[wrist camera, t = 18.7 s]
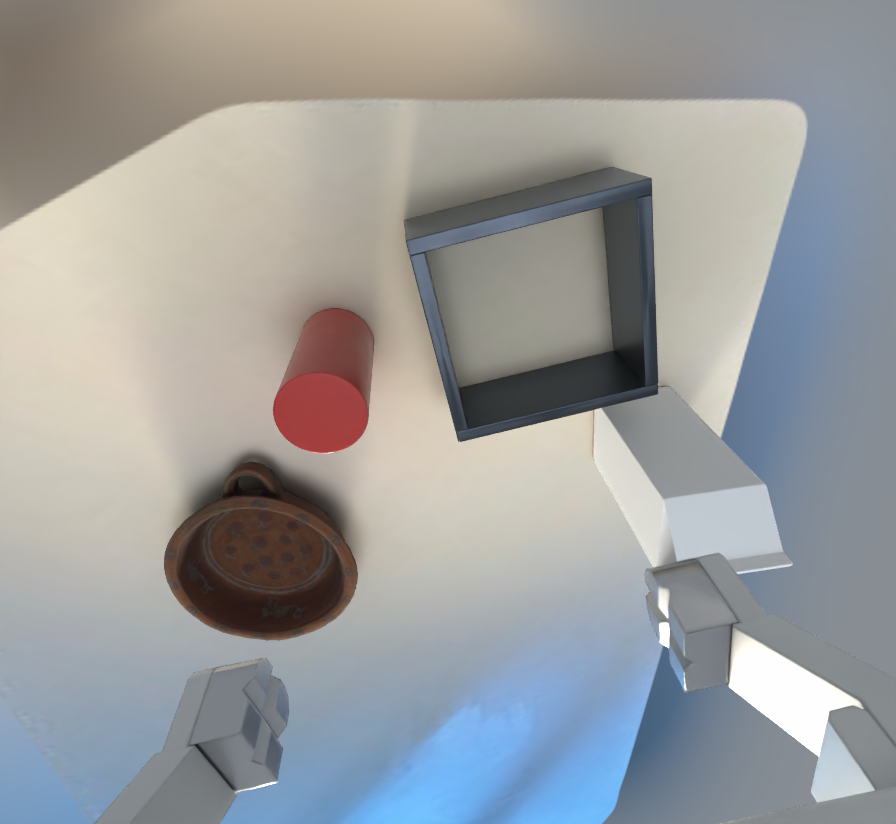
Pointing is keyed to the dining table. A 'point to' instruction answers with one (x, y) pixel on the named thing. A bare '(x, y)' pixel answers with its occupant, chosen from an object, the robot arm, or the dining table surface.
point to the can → (327, 383)
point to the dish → (261, 562)
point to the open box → (629, 290)
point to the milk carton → (684, 485)
